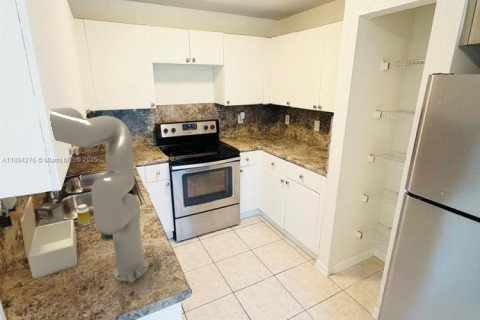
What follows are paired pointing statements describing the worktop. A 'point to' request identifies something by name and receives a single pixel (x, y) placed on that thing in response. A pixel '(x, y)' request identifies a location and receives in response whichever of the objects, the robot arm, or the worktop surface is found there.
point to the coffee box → (48, 214)
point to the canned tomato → (106, 236)
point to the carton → (53, 249)
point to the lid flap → (26, 224)
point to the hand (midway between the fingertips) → (9, 220)
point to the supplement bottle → (83, 215)
